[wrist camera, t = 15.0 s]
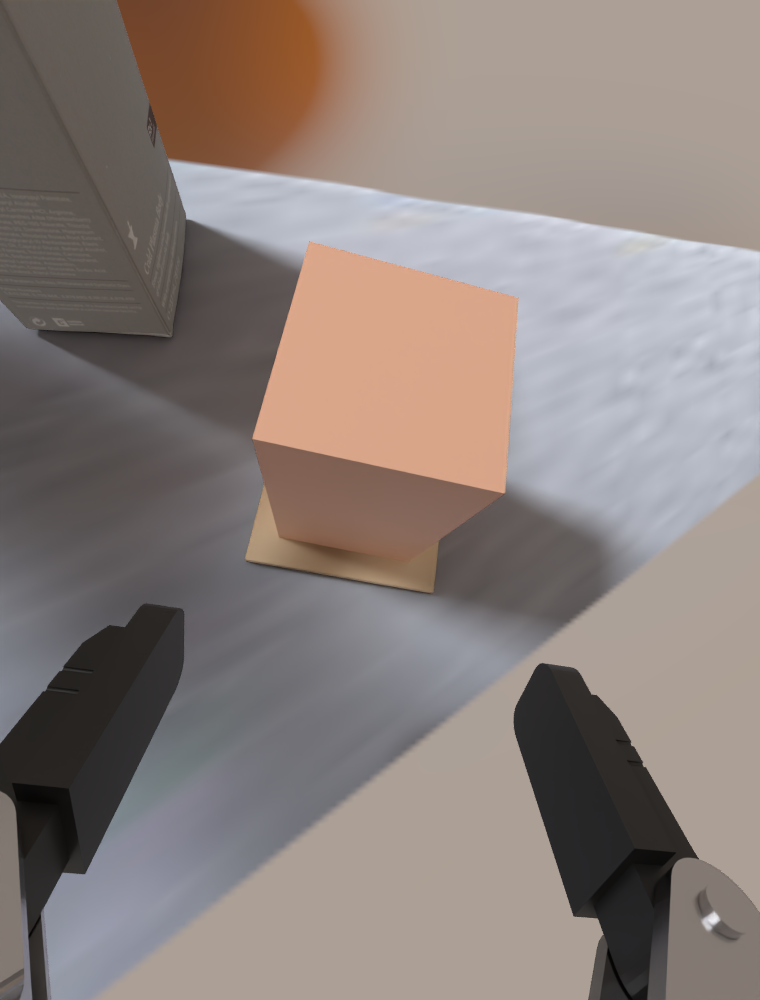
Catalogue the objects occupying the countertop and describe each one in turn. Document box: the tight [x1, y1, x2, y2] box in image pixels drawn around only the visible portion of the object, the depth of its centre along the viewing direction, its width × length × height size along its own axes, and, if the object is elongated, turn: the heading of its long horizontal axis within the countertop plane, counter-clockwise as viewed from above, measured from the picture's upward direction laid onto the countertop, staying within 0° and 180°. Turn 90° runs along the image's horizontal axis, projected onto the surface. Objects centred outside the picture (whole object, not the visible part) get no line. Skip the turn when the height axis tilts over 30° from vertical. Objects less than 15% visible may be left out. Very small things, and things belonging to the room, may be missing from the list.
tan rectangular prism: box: [252, 241, 518, 562], centre depth 15 cm, size 6×6×10 cm
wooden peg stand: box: [245, 484, 439, 593], centre depth 16 cm, size 8×8×8 cm
